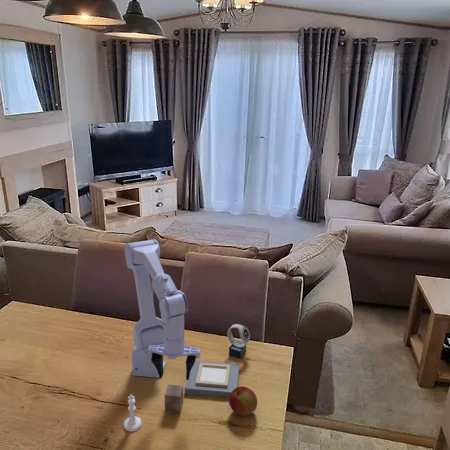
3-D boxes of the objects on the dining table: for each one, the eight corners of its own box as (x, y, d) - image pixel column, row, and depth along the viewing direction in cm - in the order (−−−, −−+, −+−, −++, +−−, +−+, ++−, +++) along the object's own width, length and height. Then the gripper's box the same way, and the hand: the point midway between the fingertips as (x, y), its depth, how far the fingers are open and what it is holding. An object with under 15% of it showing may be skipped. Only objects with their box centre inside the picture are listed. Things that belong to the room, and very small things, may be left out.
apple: (236, 399, 126) (237, 377, 123) (260, 409, 122) (262, 387, 119) (223, 415, 119) (224, 392, 117) (248, 426, 116) (250, 403, 113)
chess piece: (124, 418, 117) (123, 389, 114) (142, 417, 118) (141, 388, 114) (122, 432, 112) (120, 401, 109) (140, 431, 113) (139, 401, 110)
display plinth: (184, 393, 127) (184, 386, 126) (192, 365, 141) (192, 358, 140) (236, 398, 126) (236, 390, 125) (239, 369, 139) (239, 362, 139)
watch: (245, 360, 144) (246, 332, 141) (224, 354, 147) (225, 326, 144) (251, 351, 149) (252, 325, 146) (230, 345, 152) (231, 319, 149)
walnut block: (164, 412, 120) (164, 395, 118) (168, 401, 124) (168, 384, 122) (180, 413, 120) (180, 396, 118) (183, 402, 124) (183, 385, 122)
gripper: (144, 341, 111) (146, 384, 115) (197, 344, 110) (197, 387, 114) (150, 327, 118) (152, 368, 122) (201, 330, 117) (201, 371, 121)
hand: (174, 376), depth 119 cm, fingers open, 7 cm apart
